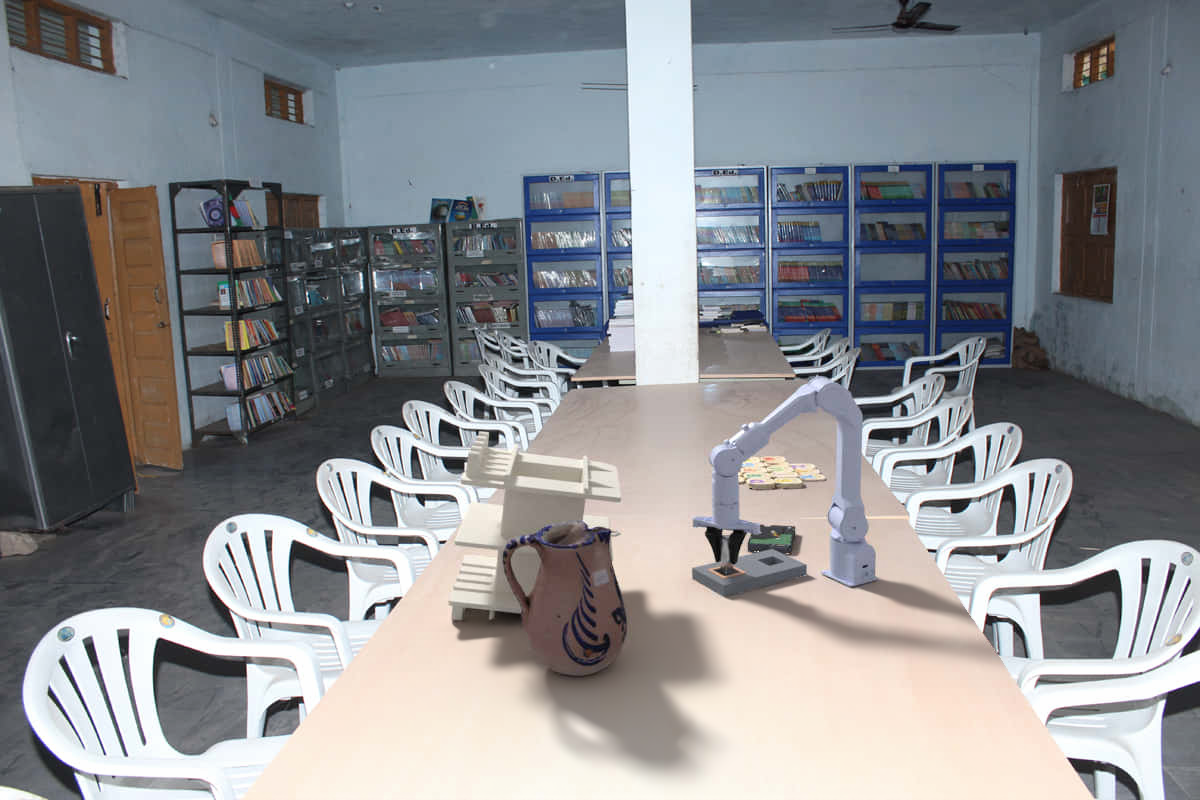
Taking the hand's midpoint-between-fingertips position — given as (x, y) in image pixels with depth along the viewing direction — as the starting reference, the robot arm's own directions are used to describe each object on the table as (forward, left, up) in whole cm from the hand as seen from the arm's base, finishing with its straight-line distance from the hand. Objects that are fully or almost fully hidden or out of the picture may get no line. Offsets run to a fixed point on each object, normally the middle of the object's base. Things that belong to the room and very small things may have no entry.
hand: (726, 561), depth 196 cm
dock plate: (0, -6, -5) cm, 8 cm away
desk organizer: (+14, +38, -5) cm, 41 cm away
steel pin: (0, 0, -3) cm, 4 cm away
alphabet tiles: (+66, -62, -6) cm, 91 cm away
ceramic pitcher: (-17, +46, -5) cm, 49 cm away
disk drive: (+15, -24, -6) cm, 29 cm away
